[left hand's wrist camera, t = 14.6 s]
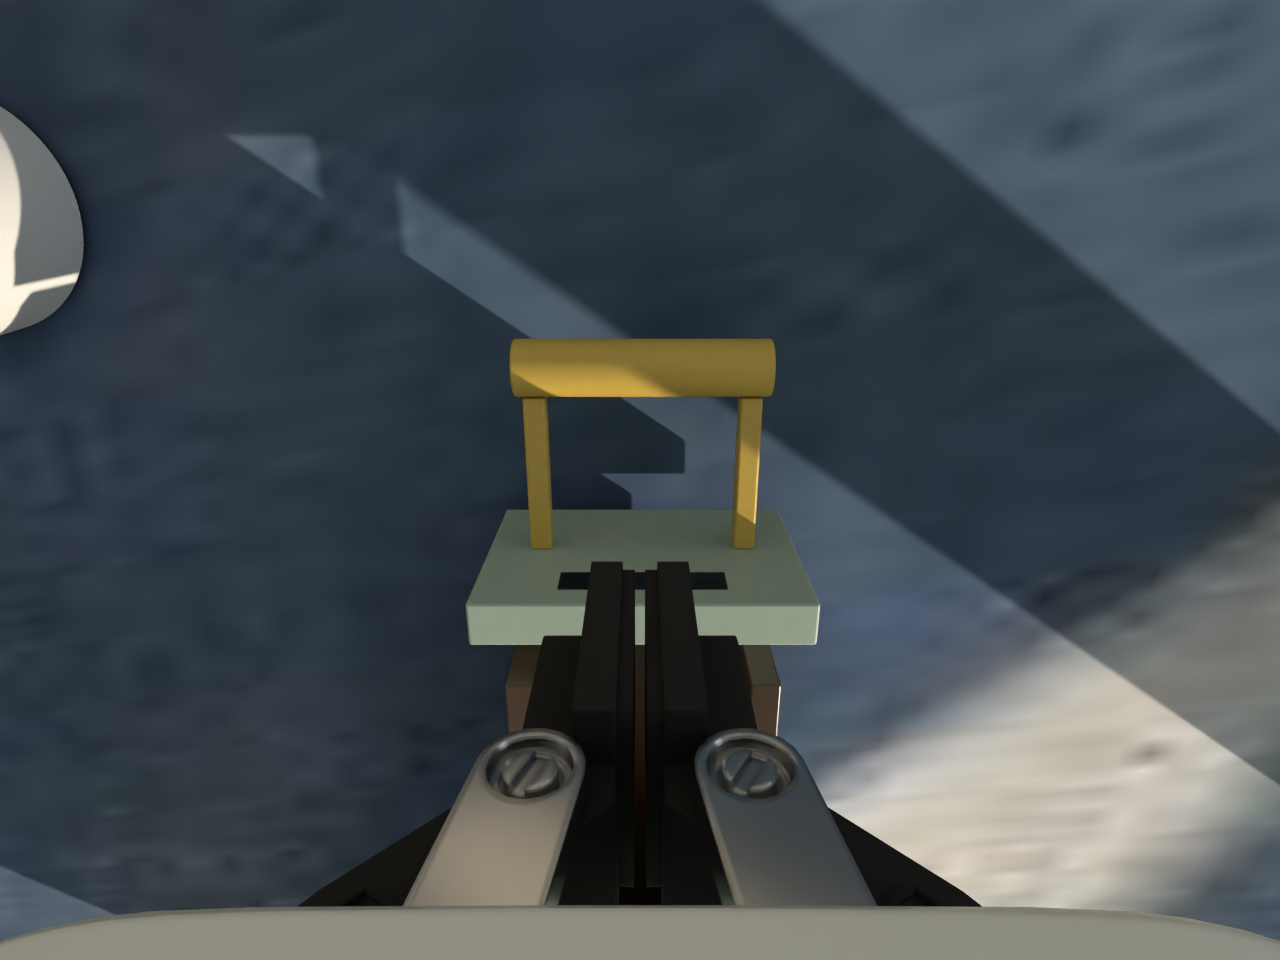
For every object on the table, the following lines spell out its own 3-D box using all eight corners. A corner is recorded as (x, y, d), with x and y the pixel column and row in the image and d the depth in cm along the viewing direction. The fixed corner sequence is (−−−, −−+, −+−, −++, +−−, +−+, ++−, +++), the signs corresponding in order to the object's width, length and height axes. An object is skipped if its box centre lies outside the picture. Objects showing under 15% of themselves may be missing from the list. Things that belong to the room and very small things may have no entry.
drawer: (493, 323, 22) (441, 365, 16) (791, 323, 22) (845, 365, 16) (537, 945, 31) (513, 1112, 25) (746, 945, 31) (770, 1112, 25)
